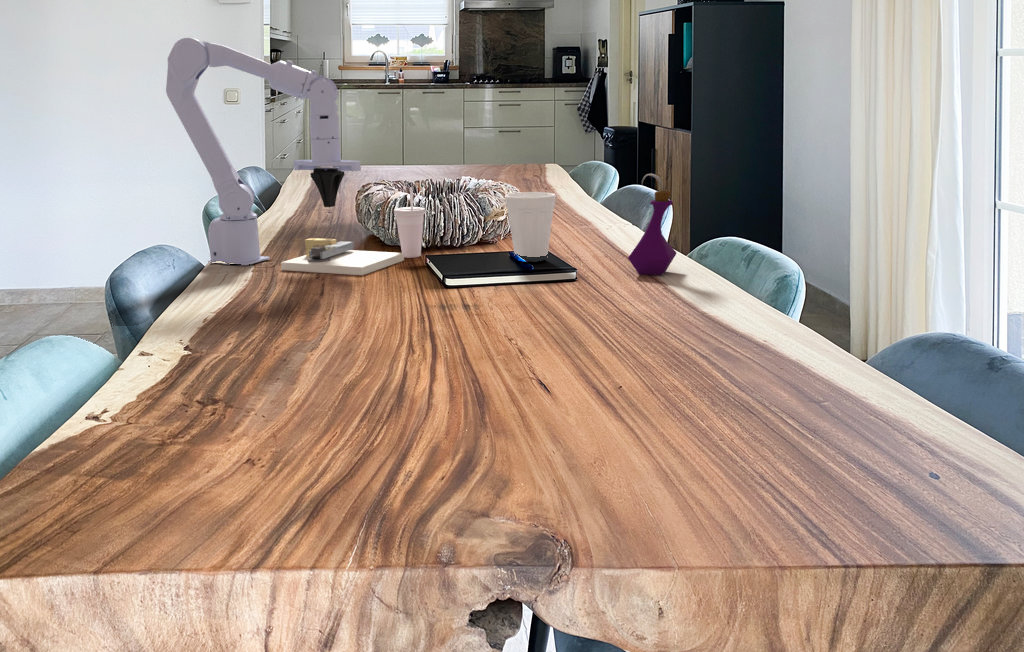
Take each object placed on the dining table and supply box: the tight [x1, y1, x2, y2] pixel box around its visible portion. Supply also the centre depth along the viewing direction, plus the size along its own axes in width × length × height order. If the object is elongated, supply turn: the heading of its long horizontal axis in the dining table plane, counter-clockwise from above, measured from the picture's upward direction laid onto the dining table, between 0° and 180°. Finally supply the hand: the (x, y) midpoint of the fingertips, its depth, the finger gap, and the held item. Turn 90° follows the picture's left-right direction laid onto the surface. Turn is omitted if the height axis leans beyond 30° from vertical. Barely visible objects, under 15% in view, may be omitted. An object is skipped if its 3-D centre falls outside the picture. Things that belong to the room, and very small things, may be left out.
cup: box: [504, 191, 557, 257], centre depth 196 cm, size 10×10×13 cm
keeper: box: [304, 237, 338, 256], centre depth 199 cm, size 6×2×3 cm, turn 67°
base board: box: [280, 249, 405, 276], centre depth 198 cm, size 18×16×2 cm
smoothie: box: [393, 186, 426, 259], centre depth 205 cm, size 6×6×14 cm
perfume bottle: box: [627, 173, 677, 276], centre depth 182 cm, size 8×8×18 cm
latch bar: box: [309, 240, 354, 259], centre depth 199 cm, size 12×3×2 cm, turn 160°
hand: (329, 206), depth 204 cm, fingers closed
